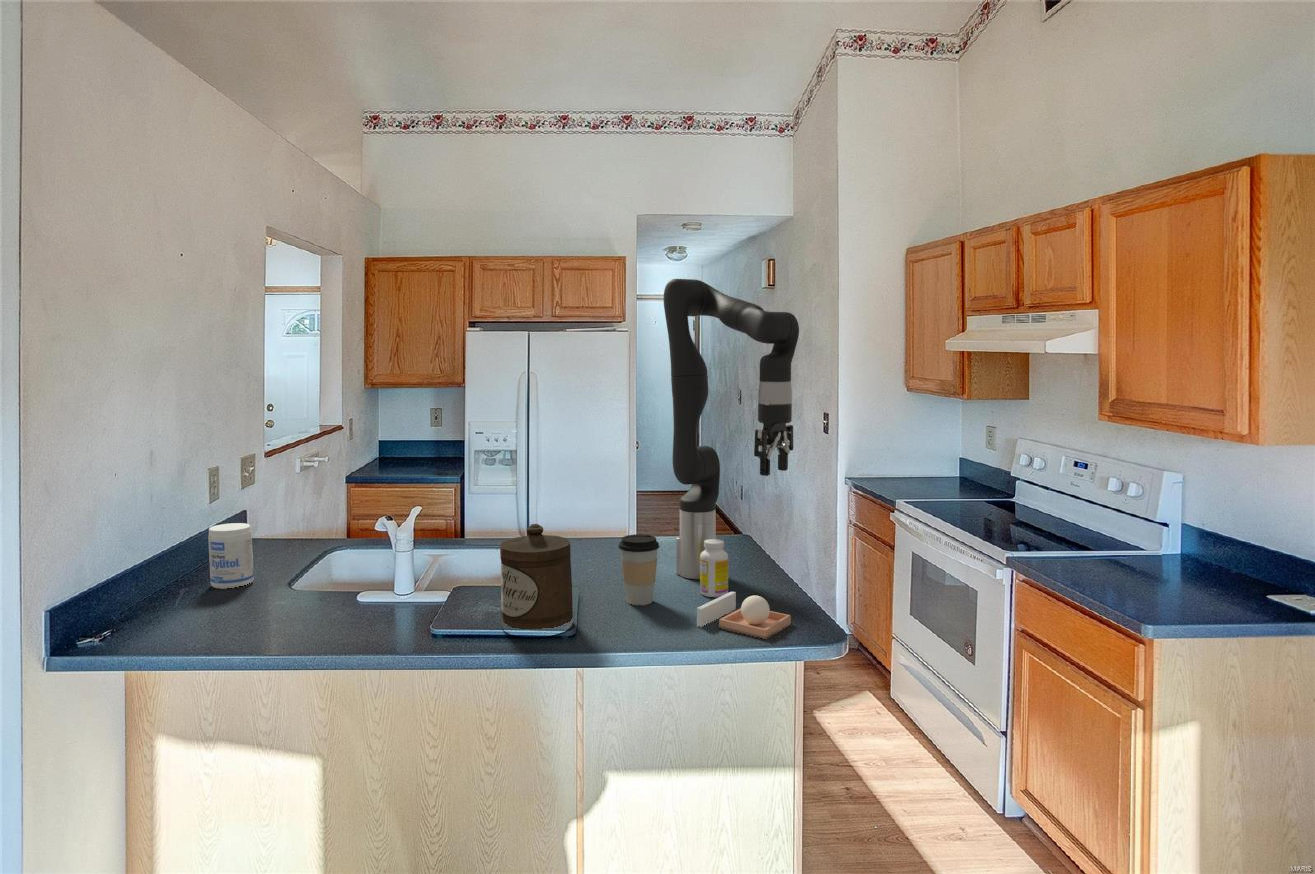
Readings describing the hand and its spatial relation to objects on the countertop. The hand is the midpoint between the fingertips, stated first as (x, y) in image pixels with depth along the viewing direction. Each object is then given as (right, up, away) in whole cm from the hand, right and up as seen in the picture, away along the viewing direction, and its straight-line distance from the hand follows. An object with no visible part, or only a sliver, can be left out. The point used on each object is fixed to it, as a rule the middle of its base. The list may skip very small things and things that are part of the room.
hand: (774, 472), depth 184 cm
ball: (-6, -31, -13) cm, 34 cm away
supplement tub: (-133, -29, +19) cm, 137 cm away
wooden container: (-52, -32, -12) cm, 62 cm away
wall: (-14, -31, -8) cm, 35 cm away
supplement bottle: (-13, -30, +9) cm, 34 cm away
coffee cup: (-31, -30, +4) cm, 43 cm away
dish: (-6, -32, -13) cm, 35 cm away
